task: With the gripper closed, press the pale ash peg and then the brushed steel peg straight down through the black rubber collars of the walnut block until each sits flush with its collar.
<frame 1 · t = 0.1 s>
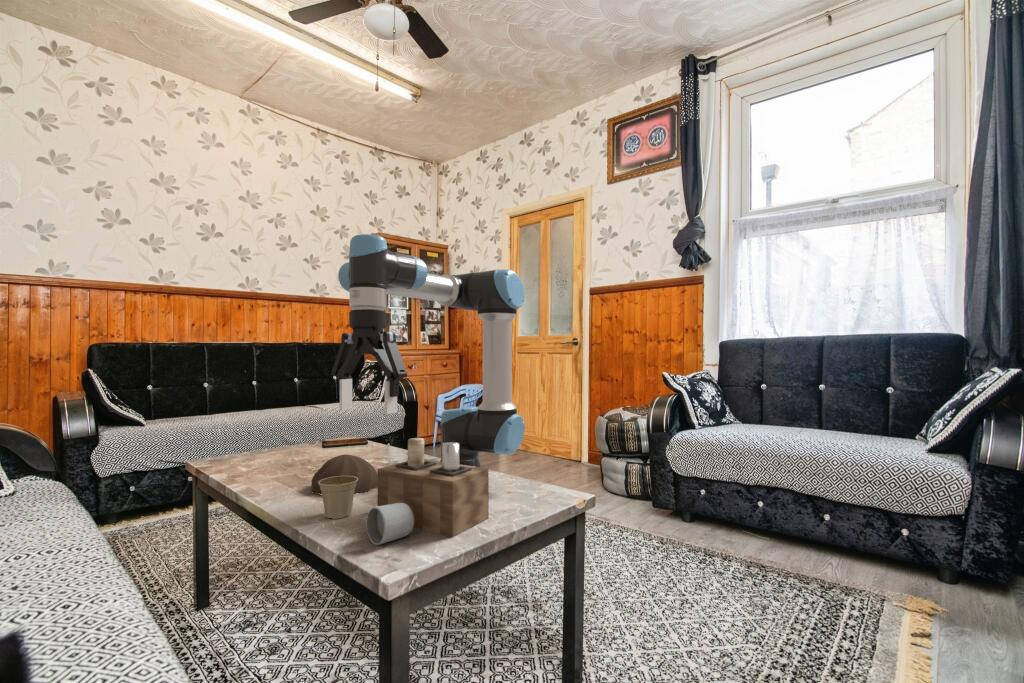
hand: (367, 411, 100), 28 cm above the table, tool pointing down, fingers open, 13 cm apart
decorative dome: (345, 488, 144), on the table
jar: (459, 503, 129), on the table
walnut block: (433, 518, 116), on the table
flower pot: (338, 515, 119), on the table
peg ash: (416, 461, 120), point 13 cm above the table, slide at 6.0 cm
ceramic mug: (386, 539, 104), on the table
peg steel: (450, 466, 114), point 13 cm above the table, slide at 6.0 cm
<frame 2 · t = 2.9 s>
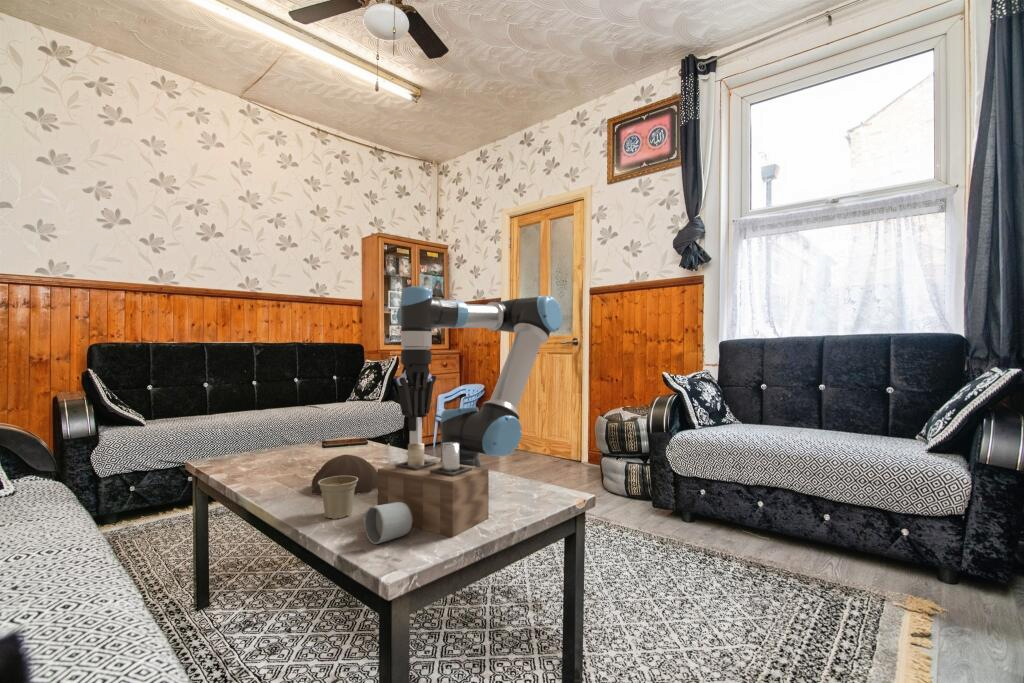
hand: (415, 443, 120), 18 cm above the table, tool pointing down, fingers closed
peg ash: (416, 466, 120), point 12 cm above the table, slide at 4.7 cm, touching gripper
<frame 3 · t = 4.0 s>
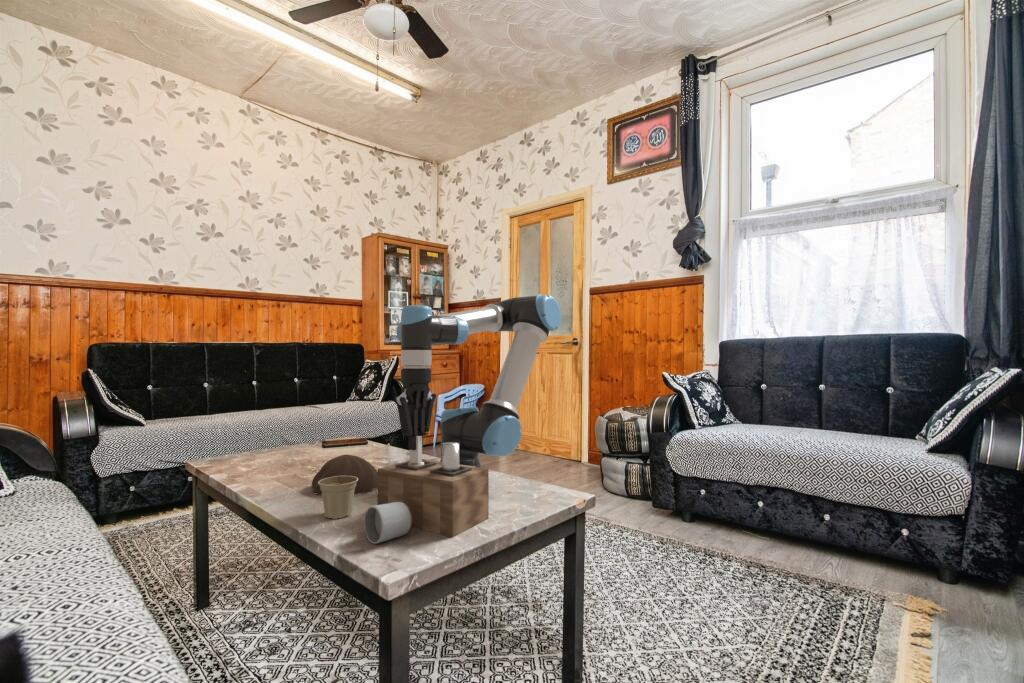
hand: (415, 462, 120), 13 cm above the table, tool pointing down, fingers closed
peg ash: (416, 485, 120), point 7 cm above the table, slide at 0.1 cm, touching gripper
everything else where it was.
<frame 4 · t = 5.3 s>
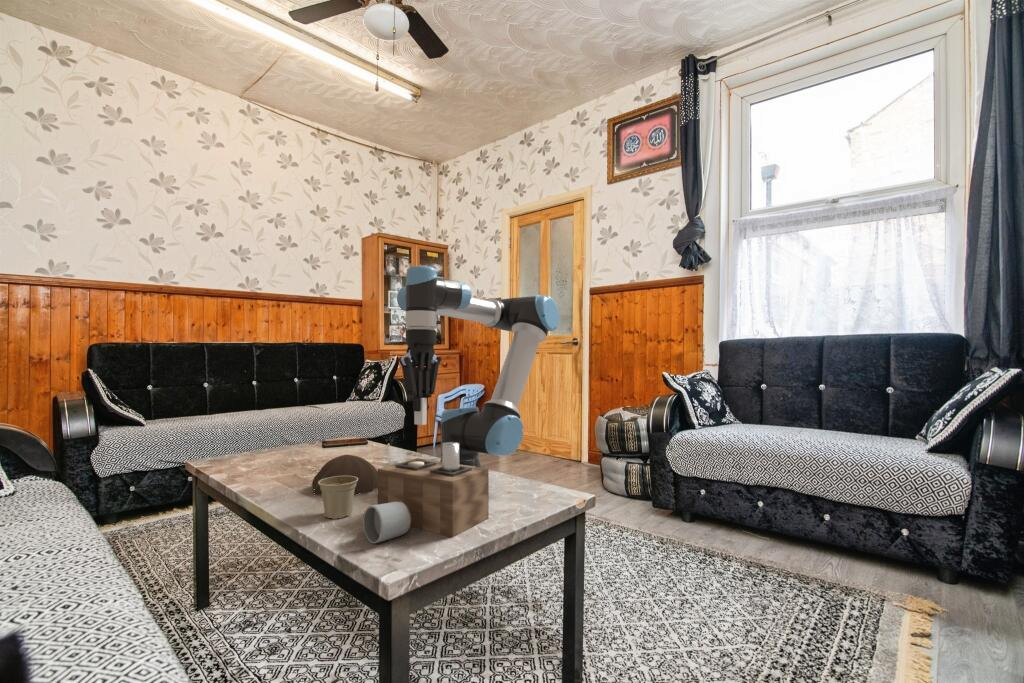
hand: (420, 424, 119), 23 cm above the table, tool pointing down, fingers closed
peg ash: (416, 485, 120), point 7 cm above the table, slide at 0.1 cm
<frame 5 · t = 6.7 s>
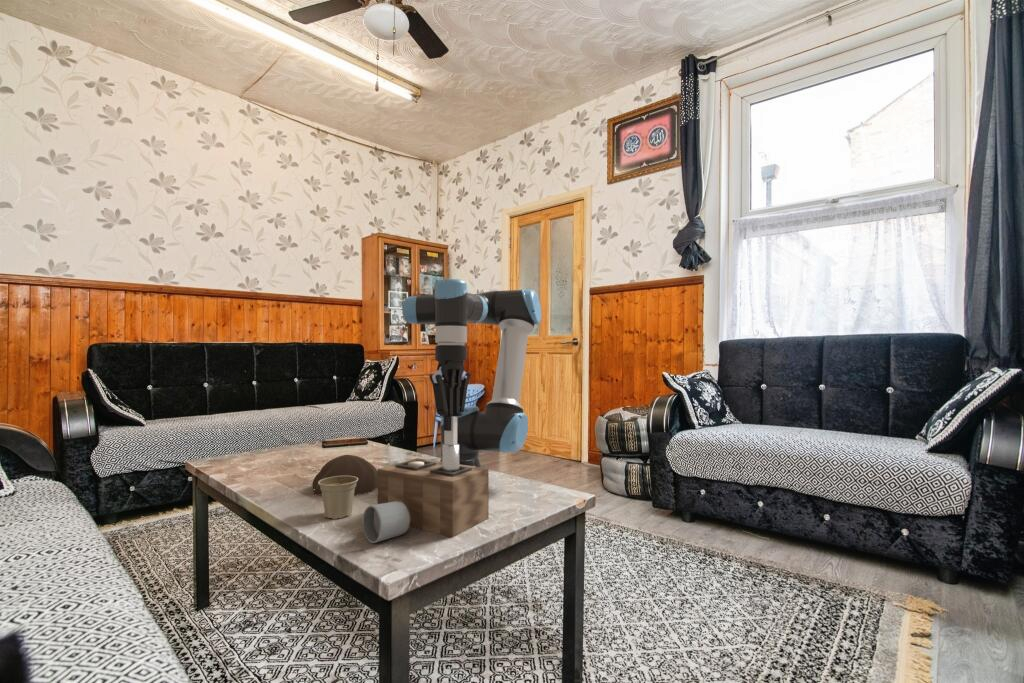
hand: (450, 443, 114), 19 cm above the table, tool pointing down, fingers closed
peg steel: (450, 468, 114), point 13 cm above the table, slide at 5.7 cm, touching gripper
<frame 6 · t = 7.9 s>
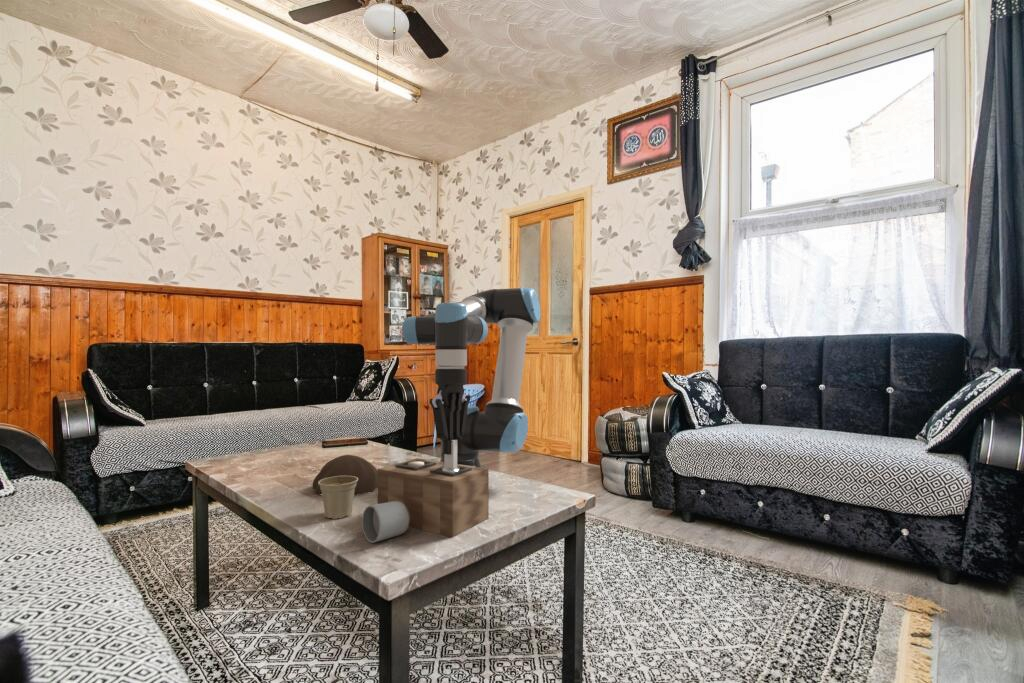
hand: (450, 467, 114), 13 cm above the table, tool pointing down, fingers closed
peg steel: (450, 491, 114), point 7 cm above the table, slide at 0.2 cm, touching gripper
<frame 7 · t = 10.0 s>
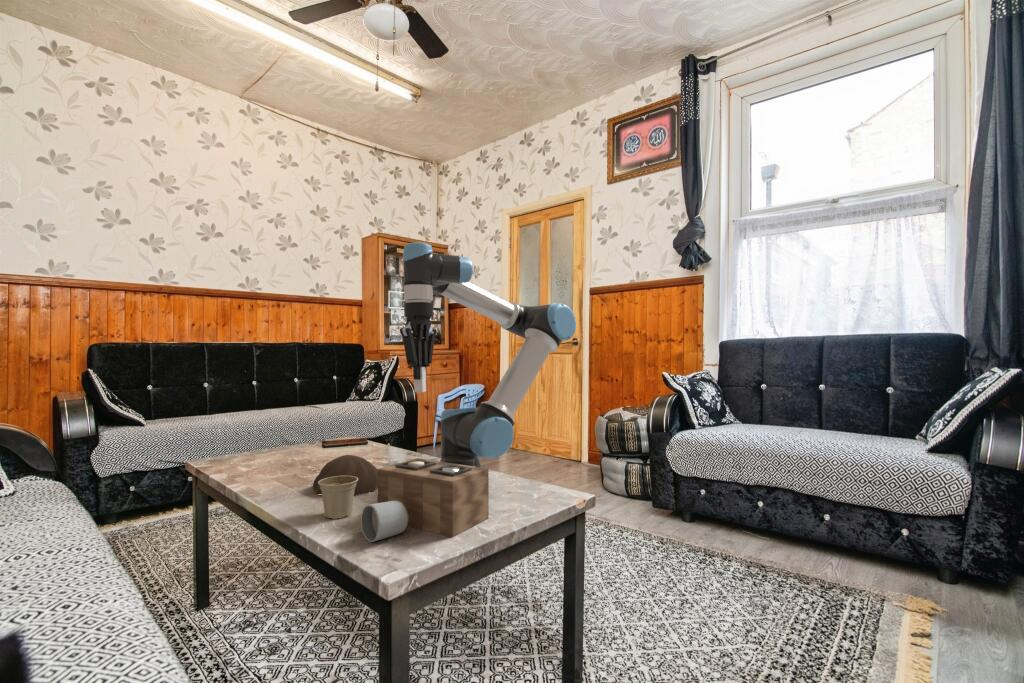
hand: (420, 391, 127), 30 cm above the table, tool pointing down, fingers closed
peg steel: (450, 491, 114), point 7 cm above the table, slide at 0.1 cm
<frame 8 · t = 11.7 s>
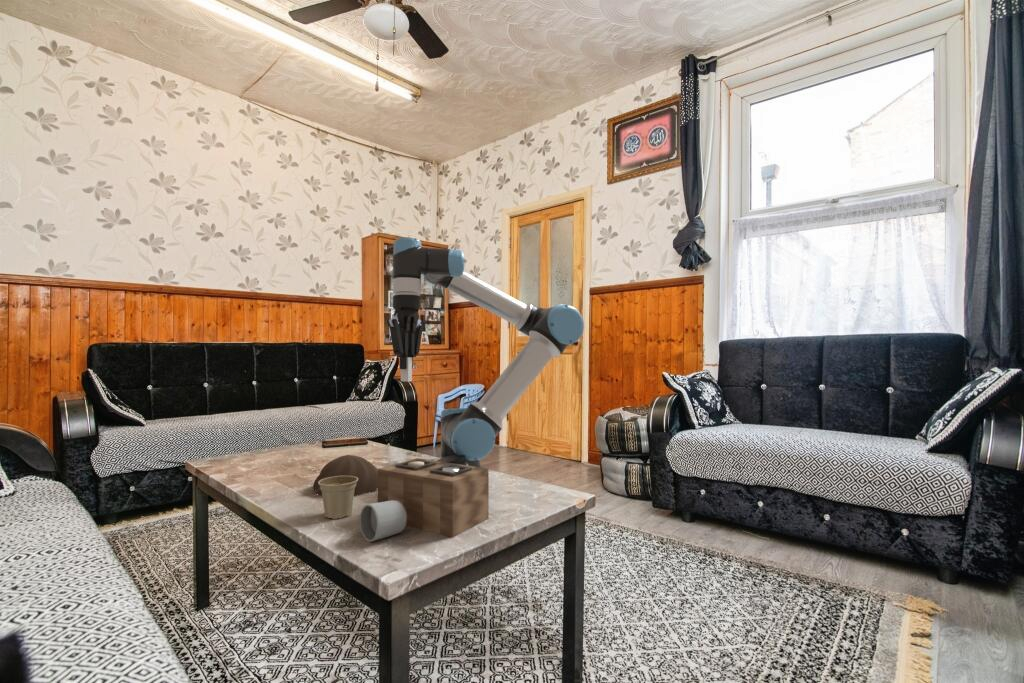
hand: (406, 381, 131), 32 cm above the table, tool pointing down, fingers closed
jar: (459, 503, 129), on the table, touching arm
at the end: peg ash slide at 0.1 cm; peg steel slide at 0.1 cm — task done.
